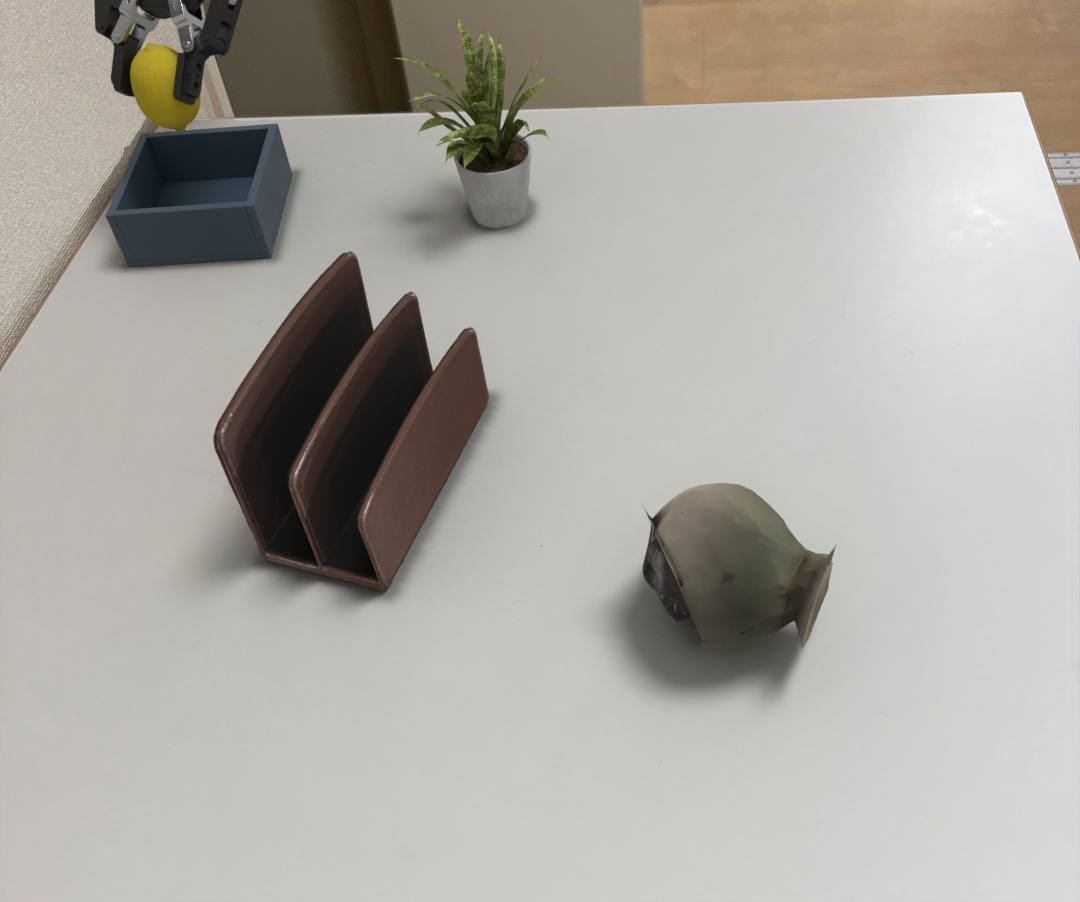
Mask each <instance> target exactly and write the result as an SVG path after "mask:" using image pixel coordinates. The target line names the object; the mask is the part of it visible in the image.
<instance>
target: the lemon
mask: <svg viewBox="0 0 1080 902" xmlns="http://www.w3.org/2000/svg"><path fill="white" fill-rule="evenodd" d="M178 53H179V51H177V50H175V49H173V48H171V47H170V46H166V45H162V44H155V43H153V42H148V43H146V44H145V46H144V48H141V49H140V51H139V52H137V54H136V56H135V57H134V59H133V61H132V63H131V69H130V81H131V87H132V91H133V94H134V97H133V98H134V99H135V102H136V104H137V106H138V108H139V109H140V112H141V113H143V115H144V116H145V117H146V118H147V119H148V120H149V121H150V122H151V123H153V124H154V125H156V126H157V127H159V128H163V129H167V130H173V131H178V132H182V131H184V130H186V128H187V126H189V125H190V124H191V123H192V122H193V121H194V120H195V119H196V118H197V116H198V114H199V111H200V107H201V100H202V99H201V94H200V95H199V97H198V98H196V101H195V104H194V105H189V104H184V103H182V102H180V101H178V100H176V99H175V98H174V96H173V89H174V81H175V73H176V66H177V58H178Z"/></svg>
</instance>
